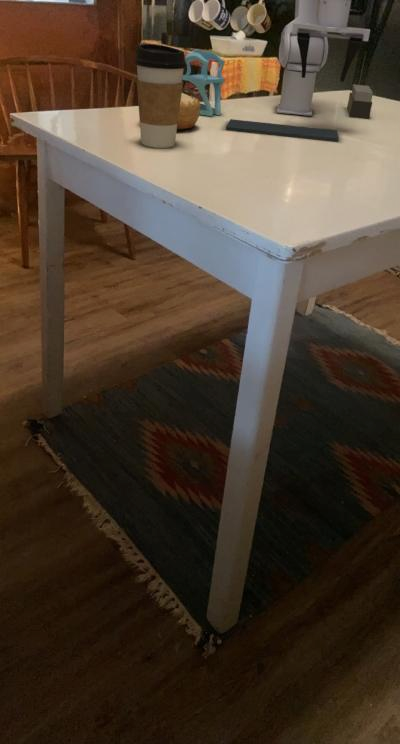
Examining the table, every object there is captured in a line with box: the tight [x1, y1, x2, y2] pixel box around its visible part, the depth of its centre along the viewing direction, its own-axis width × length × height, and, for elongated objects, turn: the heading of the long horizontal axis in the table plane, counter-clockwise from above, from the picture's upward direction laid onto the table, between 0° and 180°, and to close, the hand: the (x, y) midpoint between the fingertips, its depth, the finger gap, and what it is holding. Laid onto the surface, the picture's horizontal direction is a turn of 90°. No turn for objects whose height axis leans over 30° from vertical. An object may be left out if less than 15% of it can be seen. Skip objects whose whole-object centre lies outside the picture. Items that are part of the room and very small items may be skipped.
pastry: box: [177, 92, 201, 130], centre depth 116 cm, size 12×12×9 cm
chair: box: [182, 48, 226, 117], centre depth 129 cm, size 8×8×12 cm
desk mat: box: [225, 118, 340, 143], centre depth 121 cm, size 8×22×1 cm, turn 81°
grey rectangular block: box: [346, 84, 374, 120], centre depth 143 cm, size 12×4×6 cm, turn 171°
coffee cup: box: [134, 43, 187, 149], centre depth 101 cm, size 8×8×15 cm
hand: (322, 79), depth 120 cm, fingers open, 7 cm apart
